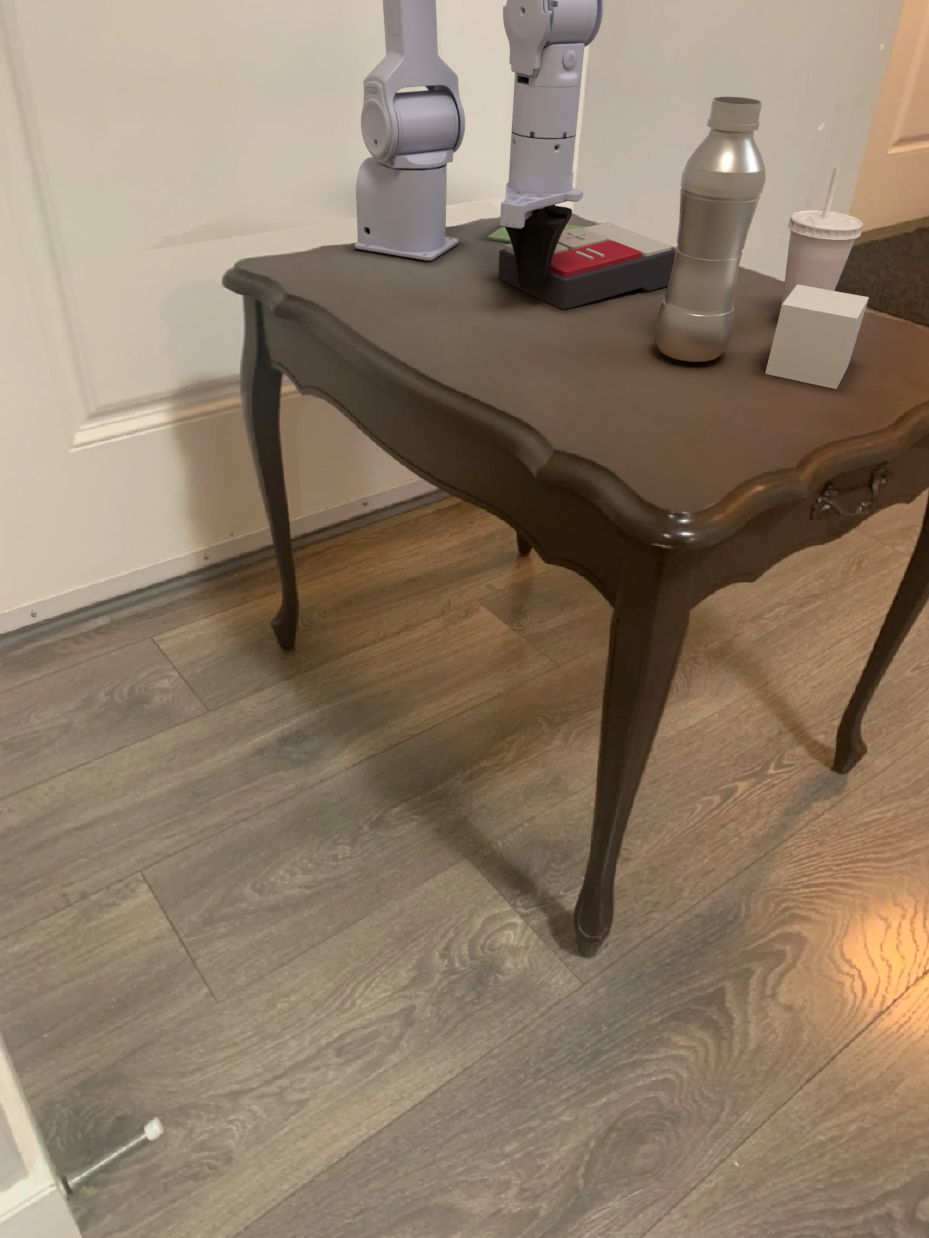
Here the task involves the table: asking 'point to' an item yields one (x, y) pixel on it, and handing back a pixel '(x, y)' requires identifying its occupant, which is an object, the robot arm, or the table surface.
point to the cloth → (503, 236)
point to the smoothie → (819, 245)
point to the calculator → (597, 265)
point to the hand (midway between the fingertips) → (531, 288)
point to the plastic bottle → (712, 233)
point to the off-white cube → (816, 335)
